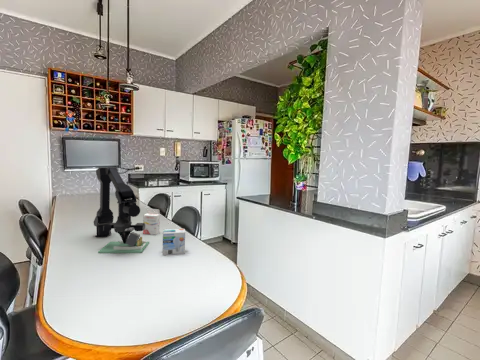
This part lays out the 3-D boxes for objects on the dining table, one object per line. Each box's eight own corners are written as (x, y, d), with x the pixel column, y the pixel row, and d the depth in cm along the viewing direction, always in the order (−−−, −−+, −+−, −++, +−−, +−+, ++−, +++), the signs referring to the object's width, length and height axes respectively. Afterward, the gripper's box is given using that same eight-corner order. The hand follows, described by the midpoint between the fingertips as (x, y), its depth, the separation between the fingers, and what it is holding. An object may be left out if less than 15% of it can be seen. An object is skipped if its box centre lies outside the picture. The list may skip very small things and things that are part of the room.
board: (98, 253, 118) (98, 243, 118) (110, 243, 132) (110, 234, 131) (141, 252, 120) (141, 243, 120) (149, 242, 134) (149, 234, 134)
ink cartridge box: (142, 234, 148) (142, 210, 147) (146, 231, 153) (146, 208, 152) (156, 235, 148) (156, 210, 146) (160, 232, 153) (160, 209, 151)
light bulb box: (162, 255, 118) (162, 233, 117) (162, 250, 124) (162, 229, 124) (185, 253, 121) (185, 232, 120) (184, 248, 127) (184, 228, 126)
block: (125, 243, 122) (130, 232, 123) (128, 242, 127) (133, 231, 129) (133, 246, 122) (138, 235, 123) (135, 245, 128) (140, 234, 129)
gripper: (97, 216, 115) (98, 249, 117) (139, 217, 117) (139, 249, 119) (107, 211, 126) (108, 241, 128) (145, 212, 129) (145, 241, 130)
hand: (124, 243), depth 126 cm, fingers closed
